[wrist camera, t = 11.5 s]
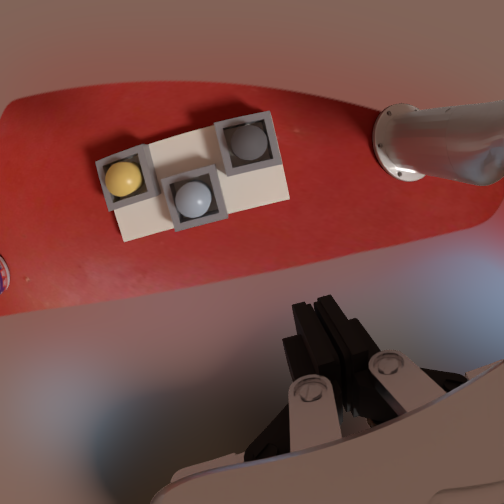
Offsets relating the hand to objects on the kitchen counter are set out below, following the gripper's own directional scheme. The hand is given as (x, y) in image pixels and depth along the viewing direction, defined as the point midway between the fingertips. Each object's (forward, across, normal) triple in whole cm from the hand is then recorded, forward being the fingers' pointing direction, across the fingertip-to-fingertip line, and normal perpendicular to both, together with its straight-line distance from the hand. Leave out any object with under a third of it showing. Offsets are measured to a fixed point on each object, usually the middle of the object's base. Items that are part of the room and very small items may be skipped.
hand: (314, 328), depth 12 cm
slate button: (+29, +7, -3) cm, 30 cm away
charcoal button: (+29, -1, -9) cm, 30 cm away
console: (+31, +7, -6) cm, 32 cm away
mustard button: (+28, +15, -9) cm, 33 cm away
